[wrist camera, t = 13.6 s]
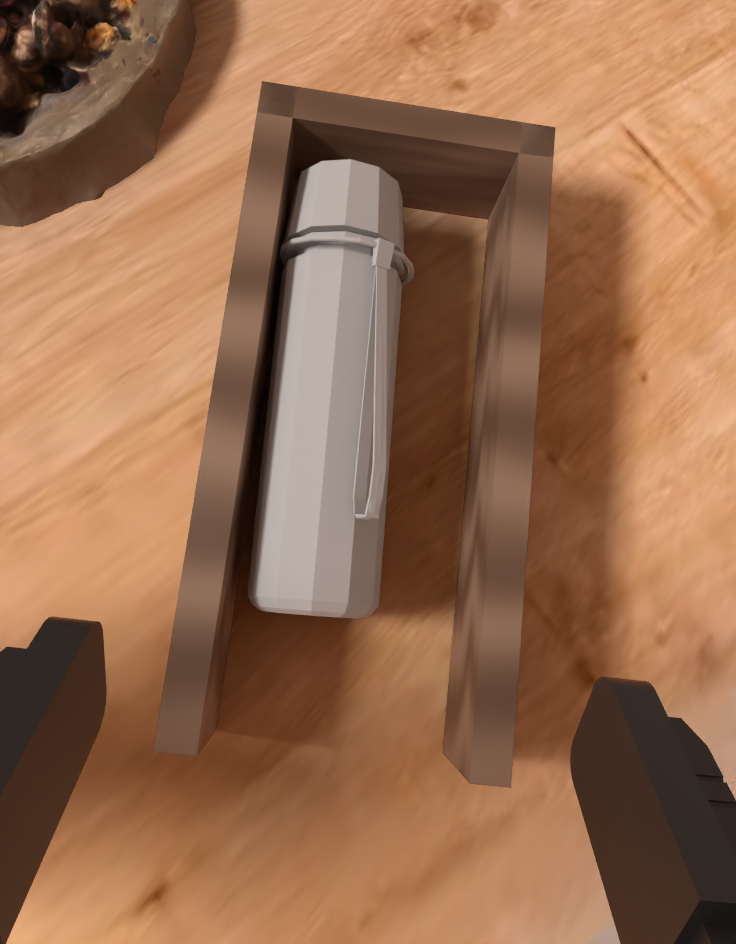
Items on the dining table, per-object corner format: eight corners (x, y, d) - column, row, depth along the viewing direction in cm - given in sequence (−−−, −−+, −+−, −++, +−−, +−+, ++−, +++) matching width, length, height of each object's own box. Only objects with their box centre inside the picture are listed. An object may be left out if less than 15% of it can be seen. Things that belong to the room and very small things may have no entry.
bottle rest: (476, 756, 40) (510, 787, 33) (180, 725, 39) (153, 751, 32) (519, 196, 47) (555, 127, 40) (269, 159, 46) (262, 81, 39)
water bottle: (217, 606, 38) (264, 196, 43) (339, 614, 42) (370, 240, 47) (294, 616, 31) (341, 116, 35) (433, 624, 35) (459, 176, 39)
